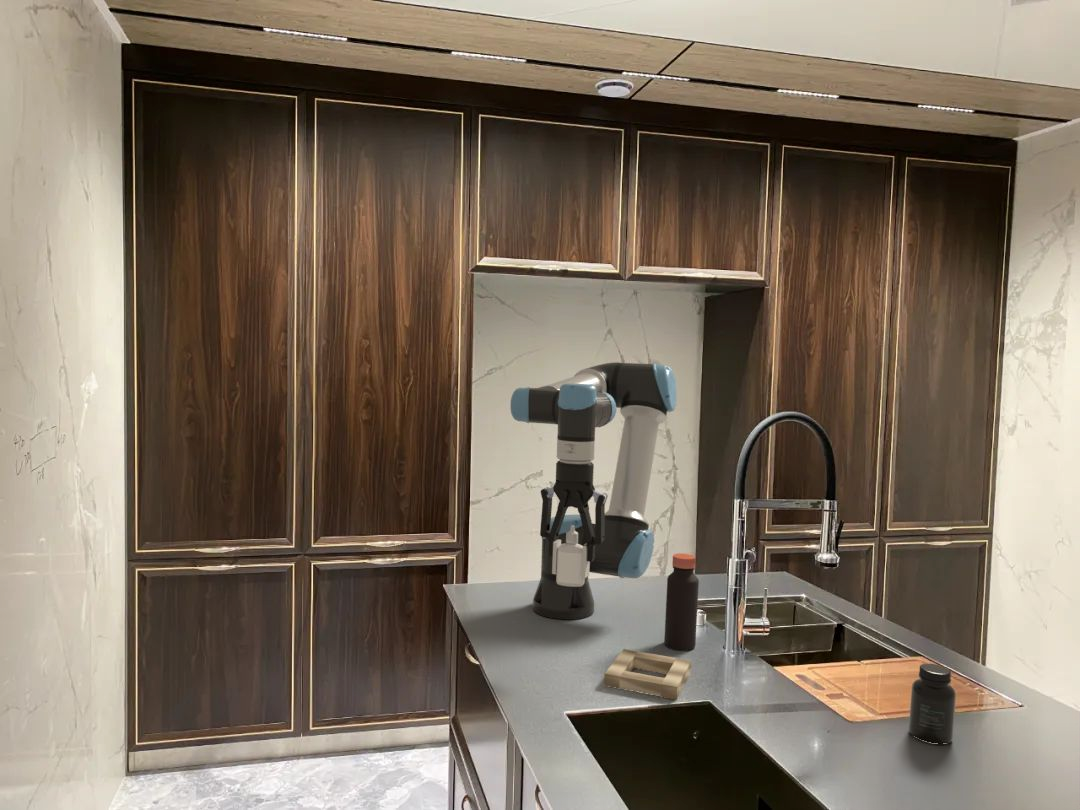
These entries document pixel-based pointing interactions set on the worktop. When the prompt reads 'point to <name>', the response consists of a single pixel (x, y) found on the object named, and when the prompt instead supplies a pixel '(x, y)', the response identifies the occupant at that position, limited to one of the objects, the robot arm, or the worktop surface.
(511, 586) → the worktop surface
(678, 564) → the vinegar
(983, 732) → the worktop surface
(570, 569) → the eye dropper bottle
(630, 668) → the square wooden frame
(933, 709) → the supplement bottle
